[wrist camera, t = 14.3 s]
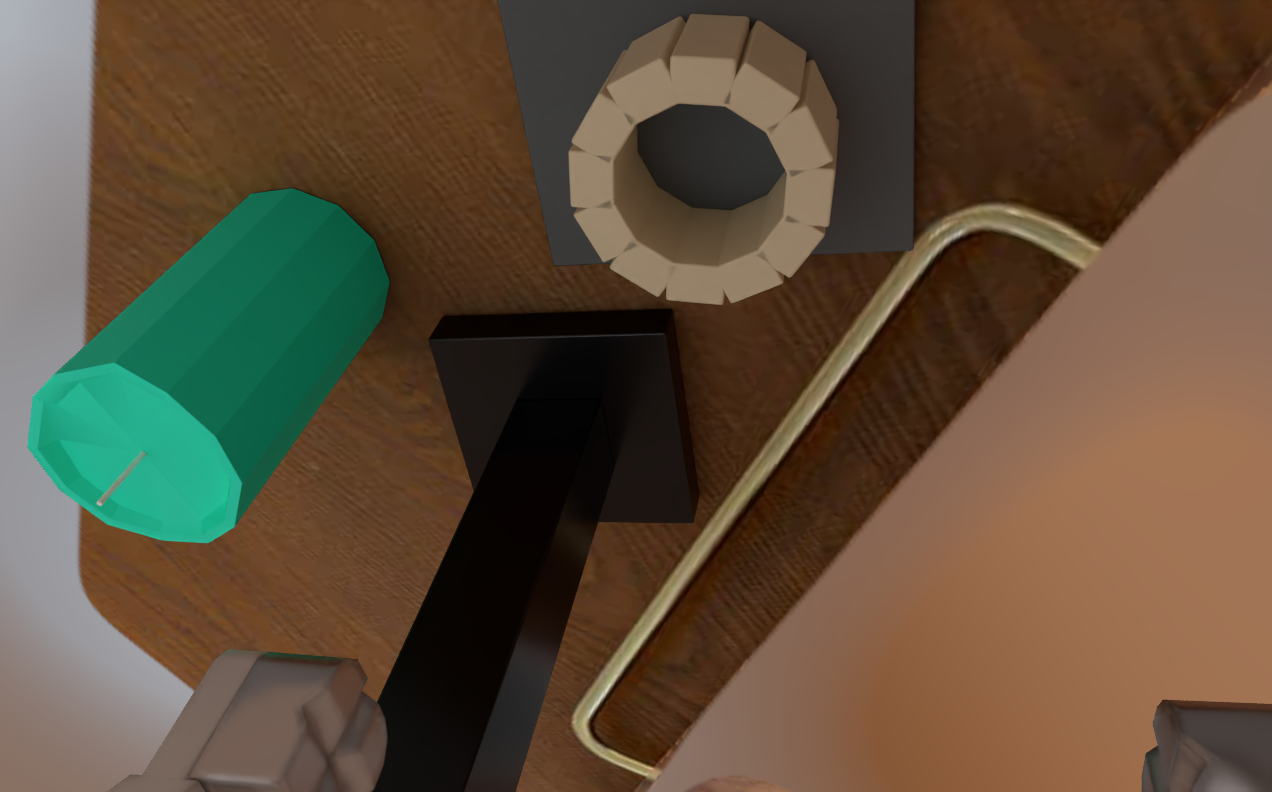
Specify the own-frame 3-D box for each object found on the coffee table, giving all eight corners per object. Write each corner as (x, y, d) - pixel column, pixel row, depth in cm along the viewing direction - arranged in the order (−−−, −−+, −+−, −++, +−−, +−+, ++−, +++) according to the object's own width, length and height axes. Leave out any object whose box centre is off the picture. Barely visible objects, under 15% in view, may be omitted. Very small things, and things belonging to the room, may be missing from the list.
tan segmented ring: (593, 7, 28) (563, 49, 26) (850, 20, 27) (848, 65, 25) (599, 235, 32) (573, 292, 30) (823, 253, 31) (818, 314, 29)
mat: (488, -76, 28) (482, -70, 28) (915, -128, 26) (915, -123, 25) (557, 257, 34) (553, 266, 33) (913, 242, 31) (913, 251, 31)
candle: (419, 257, 35) (247, 497, 25) (349, 372, 38) (174, 621, 29) (255, 152, 33) (9, 362, 24) (198, 280, 37) (-37, 509, 27)
